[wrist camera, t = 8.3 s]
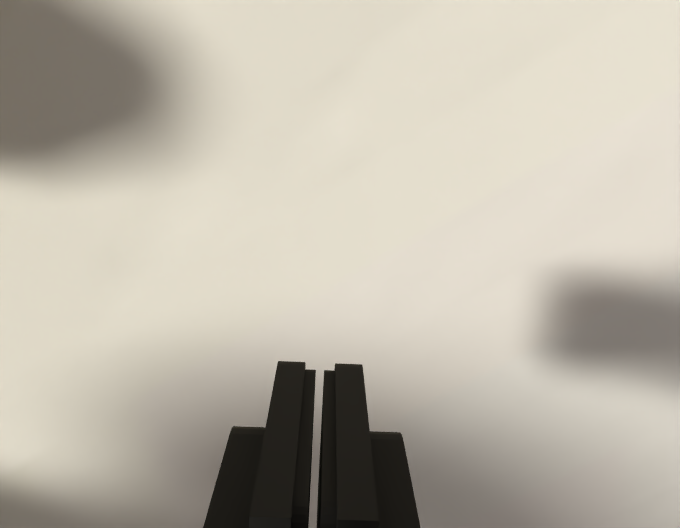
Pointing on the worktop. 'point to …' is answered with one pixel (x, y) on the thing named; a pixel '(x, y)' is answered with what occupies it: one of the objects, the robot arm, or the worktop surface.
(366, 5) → the worktop surface
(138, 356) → the worktop surface
